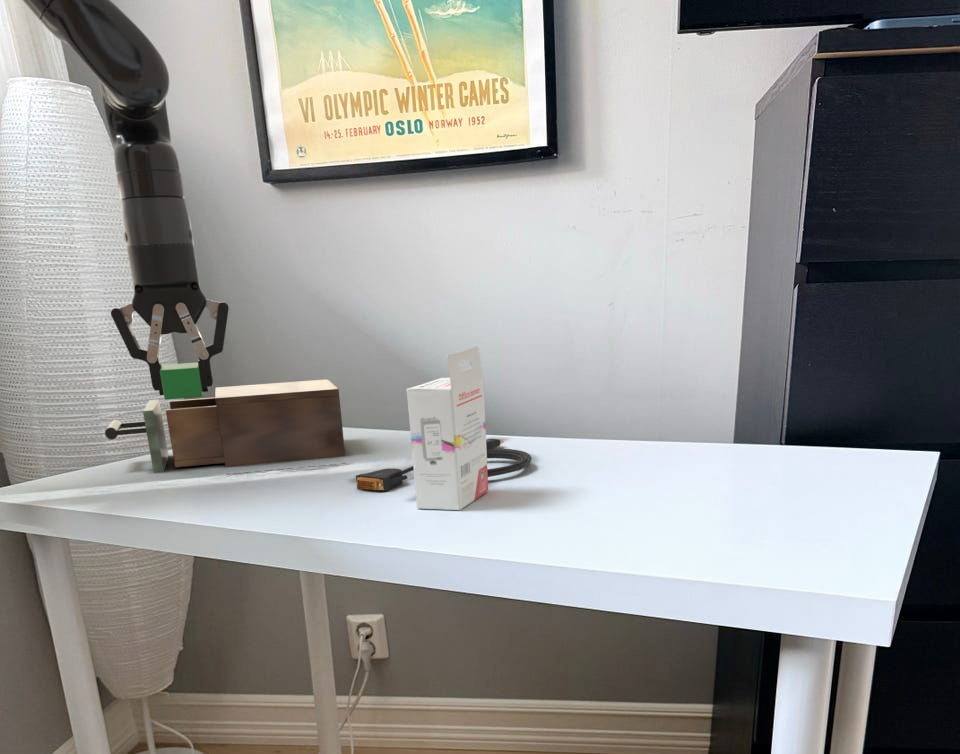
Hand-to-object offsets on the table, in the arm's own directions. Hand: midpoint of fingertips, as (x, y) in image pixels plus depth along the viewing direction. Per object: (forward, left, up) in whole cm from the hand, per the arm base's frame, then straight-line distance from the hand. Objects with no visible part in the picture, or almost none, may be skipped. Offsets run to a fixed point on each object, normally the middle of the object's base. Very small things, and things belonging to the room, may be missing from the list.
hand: (184, 392), depth 114 cm
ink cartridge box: (+26, -32, -10) cm, 42 cm away
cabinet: (+11, 0, -9) cm, 14 cm away
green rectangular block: (0, 0, 0) cm, 0 cm away
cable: (+32, -18, -10) cm, 38 cm away
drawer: (0, 0, -9) cm, 9 cm away
